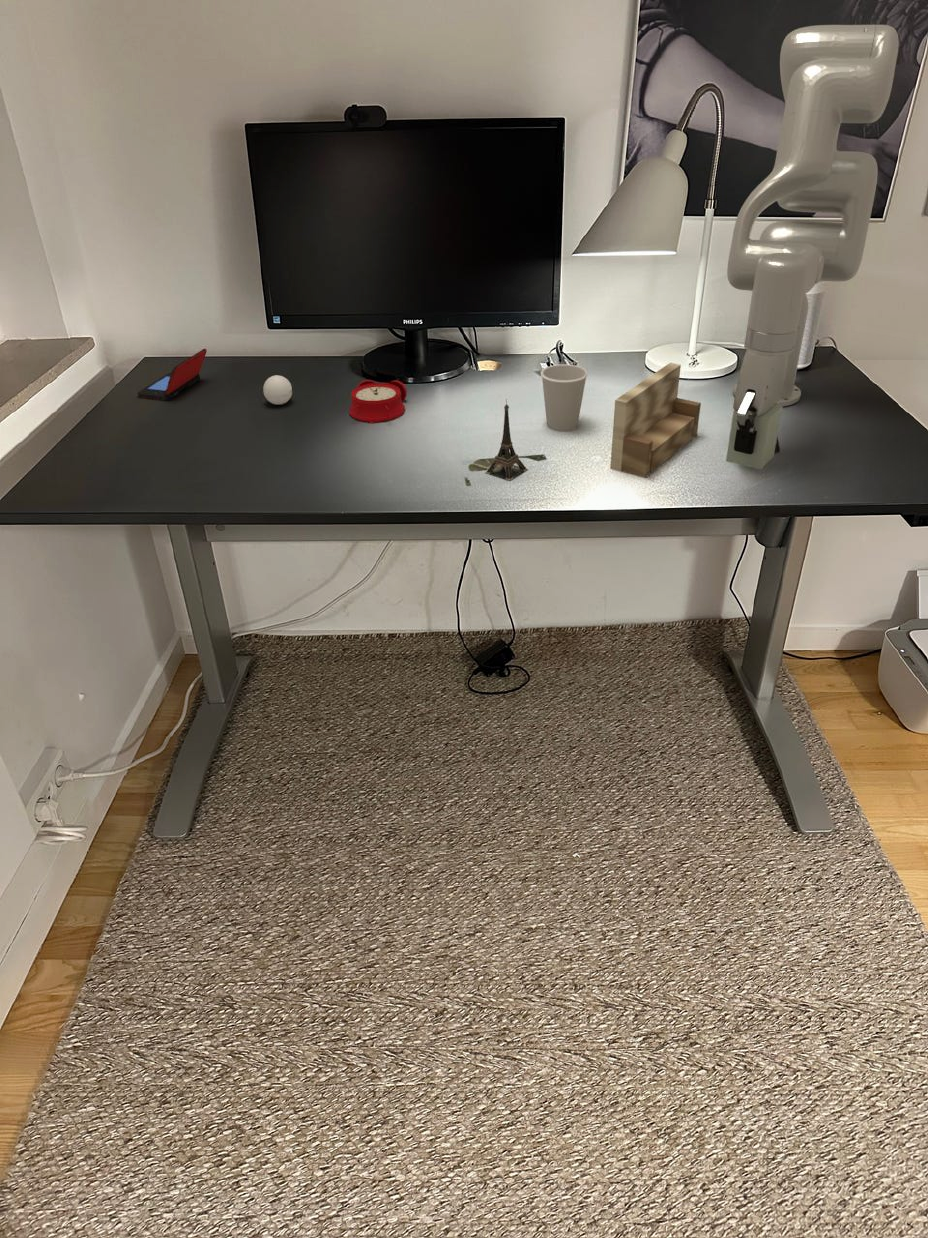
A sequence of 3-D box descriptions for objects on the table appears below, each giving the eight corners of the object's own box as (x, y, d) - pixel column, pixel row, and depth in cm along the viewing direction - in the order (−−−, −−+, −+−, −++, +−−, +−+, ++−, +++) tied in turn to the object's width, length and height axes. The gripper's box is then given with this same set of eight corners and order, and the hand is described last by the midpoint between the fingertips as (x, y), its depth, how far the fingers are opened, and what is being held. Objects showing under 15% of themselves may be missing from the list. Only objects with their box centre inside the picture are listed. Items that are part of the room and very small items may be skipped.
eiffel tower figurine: (545, 456, 158) (547, 382, 150) (556, 483, 149) (559, 406, 142) (460, 463, 157) (457, 388, 149) (466, 490, 148) (464, 413, 141)
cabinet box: (739, 448, 157) (749, 387, 151) (773, 456, 154) (785, 394, 148) (725, 460, 153) (735, 398, 147) (760, 469, 150) (771, 406, 144)
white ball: (291, 408, 177) (287, 381, 174) (262, 409, 177) (258, 381, 174) (298, 394, 183) (294, 366, 180) (270, 394, 183) (266, 367, 180)
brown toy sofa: (663, 426, 165) (670, 362, 158) (696, 434, 162) (705, 369, 155) (610, 468, 152) (615, 399, 145) (645, 477, 149) (652, 408, 142)
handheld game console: (171, 377, 194) (163, 342, 190) (214, 381, 191) (208, 346, 187) (135, 398, 184) (127, 363, 180) (181, 404, 181) (173, 367, 177)
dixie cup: (532, 429, 166) (533, 376, 160) (550, 412, 172) (551, 361, 166) (574, 437, 162) (577, 383, 157) (591, 420, 168) (594, 367, 163)
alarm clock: (340, 406, 168) (355, 360, 178) (346, 435, 173) (360, 388, 183) (397, 407, 167) (409, 361, 177) (401, 436, 172) (412, 389, 182)
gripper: (767, 319, 149) (750, 420, 159) (725, 350, 138) (710, 457, 148) (813, 327, 145) (793, 430, 156) (773, 359, 134) (754, 468, 144)
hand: (752, 442), depth 152 cm, fingers open, 7 cm apart
